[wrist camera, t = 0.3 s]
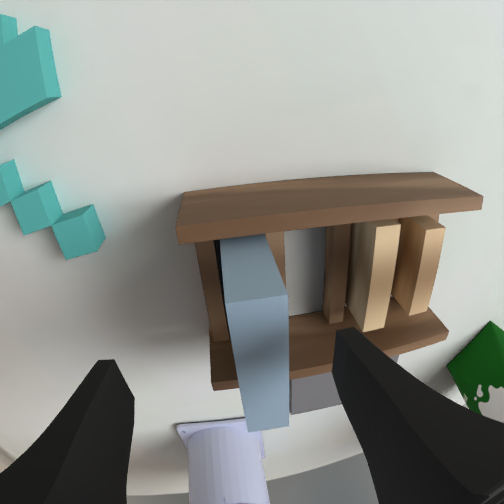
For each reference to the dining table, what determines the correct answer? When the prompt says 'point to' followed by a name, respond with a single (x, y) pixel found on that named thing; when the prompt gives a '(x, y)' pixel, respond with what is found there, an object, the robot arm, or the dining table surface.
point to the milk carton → (482, 373)
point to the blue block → (257, 329)
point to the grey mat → (315, 392)
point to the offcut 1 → (371, 271)
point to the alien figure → (18, 105)
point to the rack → (336, 254)
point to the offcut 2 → (417, 262)
